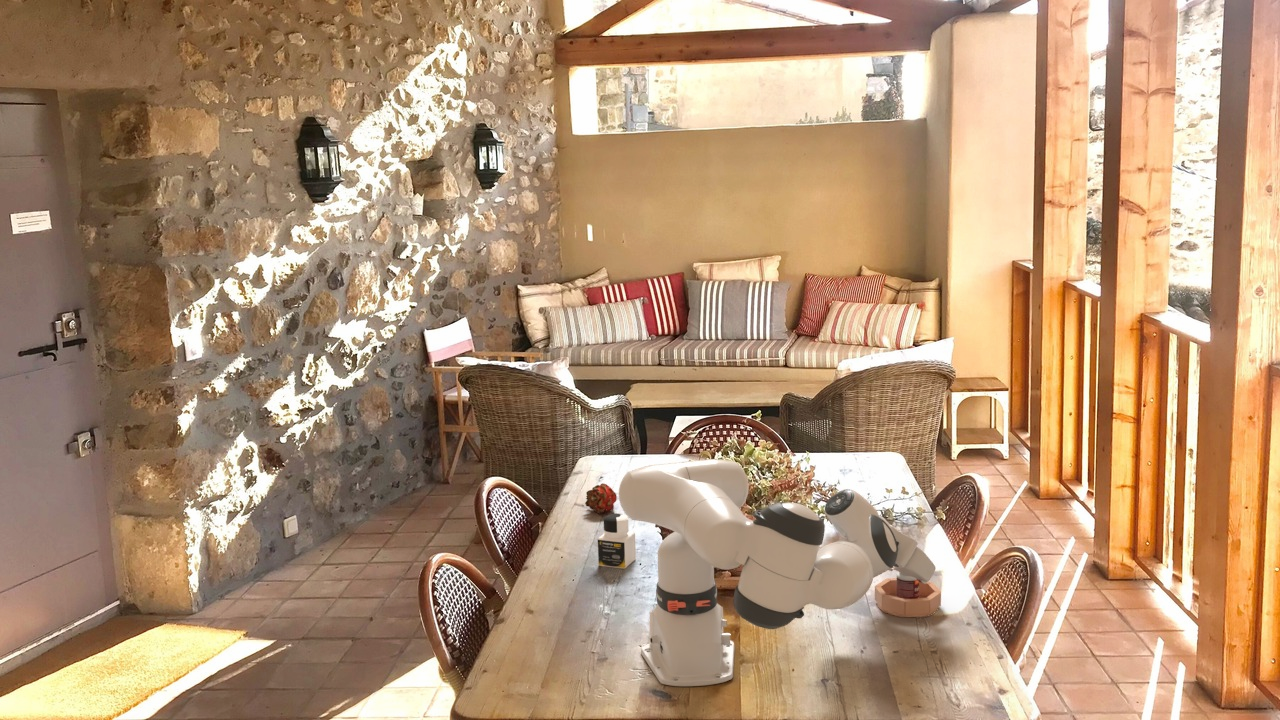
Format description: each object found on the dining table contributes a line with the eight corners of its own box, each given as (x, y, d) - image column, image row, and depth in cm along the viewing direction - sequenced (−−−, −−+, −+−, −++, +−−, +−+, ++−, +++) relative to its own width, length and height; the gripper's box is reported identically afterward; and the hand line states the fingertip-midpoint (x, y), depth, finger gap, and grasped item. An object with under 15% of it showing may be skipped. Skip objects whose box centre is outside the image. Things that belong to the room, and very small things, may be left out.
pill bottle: (919, 607, 236) (919, 570, 234) (896, 605, 237) (897, 569, 235) (918, 598, 240) (919, 562, 239) (896, 597, 241) (896, 561, 240)
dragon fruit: (595, 524, 303) (601, 516, 315) (620, 506, 302) (625, 498, 314) (577, 499, 303) (584, 492, 315) (601, 481, 303) (607, 475, 314)
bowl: (947, 615, 233) (947, 598, 232) (887, 619, 232) (887, 602, 231) (926, 592, 246) (926, 576, 245) (869, 595, 245) (869, 579, 244)
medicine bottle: (598, 566, 268) (596, 519, 265) (609, 556, 274) (608, 510, 272) (625, 569, 265) (623, 521, 263) (636, 559, 271) (634, 512, 269)
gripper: (833, 540, 238) (864, 572, 245) (906, 567, 221) (937, 600, 229) (848, 516, 240) (879, 548, 247) (921, 541, 223) (952, 575, 230)
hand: (907, 574), depth 238 cm, fingers open, 8 cm apart
